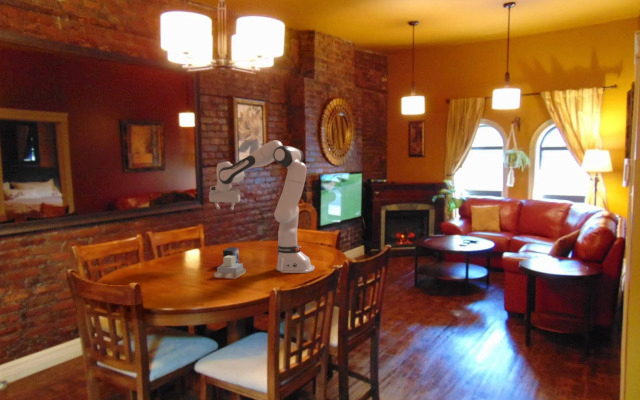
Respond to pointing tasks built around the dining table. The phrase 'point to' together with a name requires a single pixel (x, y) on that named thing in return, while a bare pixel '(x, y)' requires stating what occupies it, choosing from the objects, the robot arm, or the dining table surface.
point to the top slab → (230, 268)
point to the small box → (232, 252)
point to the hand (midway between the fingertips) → (225, 209)
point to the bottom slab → (229, 274)
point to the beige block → (229, 261)
